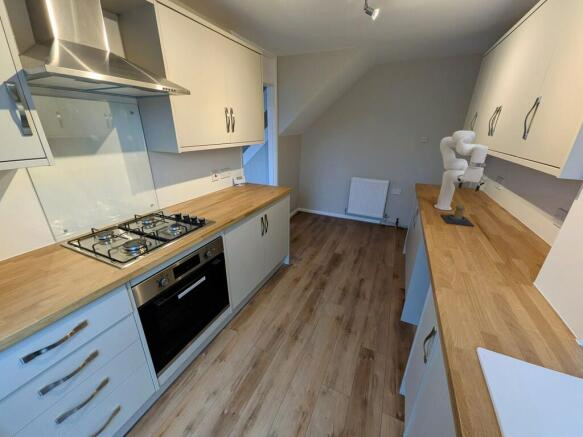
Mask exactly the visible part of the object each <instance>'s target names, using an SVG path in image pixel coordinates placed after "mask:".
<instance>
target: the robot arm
mask: <svg viewBox="0 0 583 437" xmlns="http://www.w3.org/2000/svg"><path fill="white" fill-rule="evenodd" d="M475 139H476V133H475V131H473V130H461V129H460V130H456V131H454V132H453V133H452V136H445V137H443V138H442V139H441V140H440V142H439V150H440V153H441V155H442V156H441V157H442V162H443V168H444V170H445V171H444V172H443V174H442V182H441V187H440V190H439V194H438V198H437V202H436V204H434V205H433V207H434V208H435V209H437V210H441V211H452V209H453V208H452V206H451V205H452V201H453V197H454V194H455V191H456V186H455V184H454V183H458V189H462V187H463V184H464V183H467V182H469V183H476V187H475V190H474V192H476V193H477V192H478V191H479V190H480V188H481V186H484V185H485V184H486V183H487V182H488V179H486V178H485V177H483V175H484V171H485V170H484V167H486V166H487V164H486V163H485V160H486V157H487V155H488V152H489V146H487V145H483V144H480V143H473V142H474V140H475ZM453 149H455V151H456V153H458V154H459V155H461V156H471V157H470V161H469V162H468V161H467V160H466V159H465V158H457V157H456V153H455V151H454V150H453ZM481 181H482V182H481Z"/></svg>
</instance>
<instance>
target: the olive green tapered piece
mask: <svg viewBox="0 0 583 437" xmlns="http://www.w3.org/2000/svg"><path fill="white" fill-rule="evenodd" d="M465 208H466V207H465V205H463V204H457V205H456V206H455V211H454V213H453V214H452V215H453V218H456V219H462V216H464V211H465Z"/></svg>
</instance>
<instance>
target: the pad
mask: <svg viewBox="0 0 583 437" xmlns="http://www.w3.org/2000/svg"><path fill="white" fill-rule="evenodd" d="M453 215H454V214H453V213H451V214H450V213H448V214H441V215H440V216H441V218H442V219H443V220H444V222H445V223H446V224H449V225H456V226H465V227H471V228H472V227H474V224H473V223H472V221H470V220H469V219H468V218H467V217H465V216H464V215H462V219H456V218H453Z"/></svg>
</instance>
